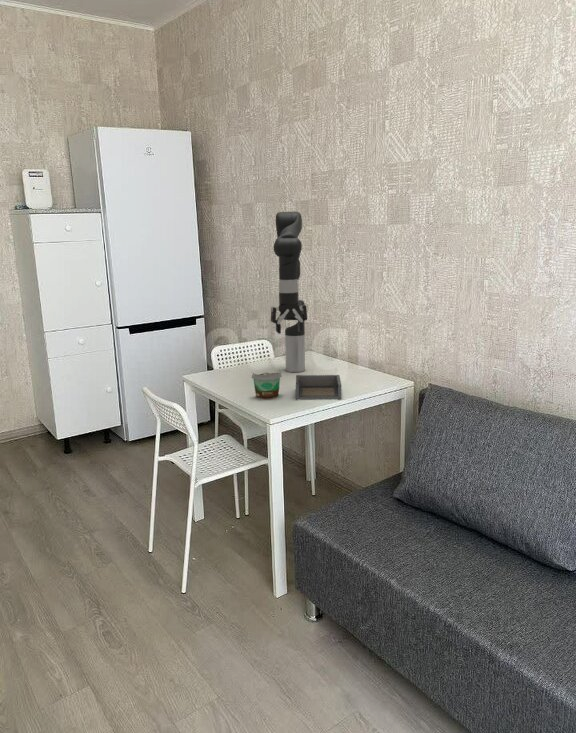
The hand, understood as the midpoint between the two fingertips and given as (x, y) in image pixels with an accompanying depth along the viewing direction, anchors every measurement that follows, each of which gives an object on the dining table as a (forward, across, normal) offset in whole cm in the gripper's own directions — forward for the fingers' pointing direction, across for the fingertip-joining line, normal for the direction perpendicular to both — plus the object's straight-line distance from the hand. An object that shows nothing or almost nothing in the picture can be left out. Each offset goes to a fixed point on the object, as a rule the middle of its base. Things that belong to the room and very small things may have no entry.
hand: (289, 332), depth 235 cm
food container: (+27, +8, -4) cm, 28 cm away
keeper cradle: (+27, -12, 0) cm, 29 cm away
